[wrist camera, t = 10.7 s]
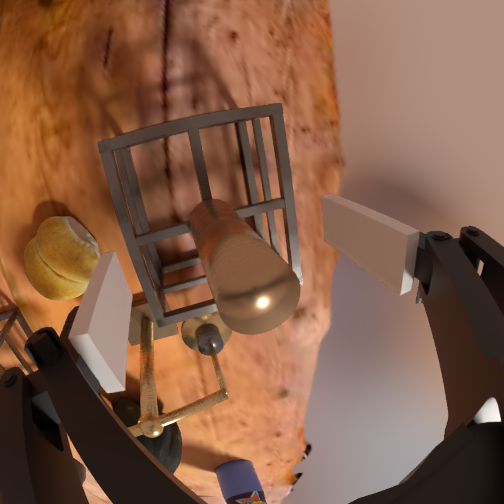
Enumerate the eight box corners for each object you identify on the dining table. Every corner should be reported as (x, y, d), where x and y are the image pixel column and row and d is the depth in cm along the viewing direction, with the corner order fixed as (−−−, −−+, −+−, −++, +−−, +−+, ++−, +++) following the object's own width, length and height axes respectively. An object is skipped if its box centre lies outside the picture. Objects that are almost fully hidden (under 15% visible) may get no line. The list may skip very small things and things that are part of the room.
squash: (74, 451, 28) (139, 517, 22) (62, 398, 25) (143, 488, 19) (133, 420, 41) (195, 472, 35) (139, 366, 37) (217, 428, 31)
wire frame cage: (157, 273, 28) (169, 437, 11) (120, 141, 22) (25, 147, 5) (263, 243, 30) (375, 362, 14) (242, 114, 24) (385, 83, 8)
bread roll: (19, 258, 22) (4, 274, 19) (61, 199, 22) (46, 209, 19) (70, 306, 26) (61, 327, 23) (115, 255, 26) (109, 272, 23)
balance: (91, 349, 29) (77, 464, 15) (73, 318, 27) (41, 436, 12) (224, 314, 32) (273, 428, 18) (215, 279, 30) (266, 395, 16)
